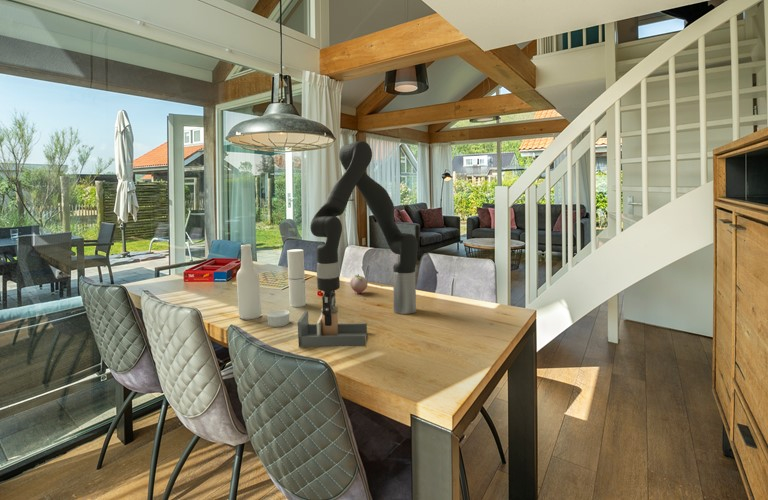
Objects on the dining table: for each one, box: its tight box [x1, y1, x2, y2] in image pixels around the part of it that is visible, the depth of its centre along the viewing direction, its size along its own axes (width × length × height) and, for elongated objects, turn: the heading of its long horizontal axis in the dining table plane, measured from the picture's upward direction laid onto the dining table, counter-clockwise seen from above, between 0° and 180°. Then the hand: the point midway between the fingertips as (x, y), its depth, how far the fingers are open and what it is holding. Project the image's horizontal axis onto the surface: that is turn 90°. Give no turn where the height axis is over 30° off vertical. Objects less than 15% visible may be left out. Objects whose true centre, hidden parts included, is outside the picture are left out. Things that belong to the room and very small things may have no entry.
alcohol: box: [236, 243, 262, 321], centre depth 162 cm, size 9×9×30 cm
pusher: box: [316, 313, 322, 336], centre depth 137 cm, size 1×10×7 cm, turn 0°
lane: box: [297, 310, 368, 348], centre depth 137 cm, size 22×13×8 cm, turn 90°
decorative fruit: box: [349, 274, 369, 294], centre depth 199 cm, size 9×8×10 cm
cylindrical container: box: [286, 248, 307, 308], centre depth 179 cm, size 7×7×25 cm
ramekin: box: [265, 309, 291, 328], centre depth 155 cm, size 9×9×4 cm
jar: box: [321, 305, 339, 335], centre depth 137 cm, size 6×6×11 cm
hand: (330, 321), depth 137 cm, fingers open, 8 cm apart
